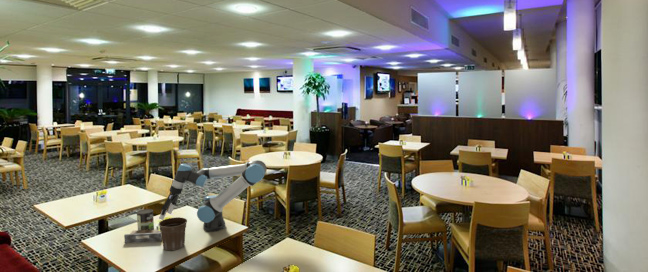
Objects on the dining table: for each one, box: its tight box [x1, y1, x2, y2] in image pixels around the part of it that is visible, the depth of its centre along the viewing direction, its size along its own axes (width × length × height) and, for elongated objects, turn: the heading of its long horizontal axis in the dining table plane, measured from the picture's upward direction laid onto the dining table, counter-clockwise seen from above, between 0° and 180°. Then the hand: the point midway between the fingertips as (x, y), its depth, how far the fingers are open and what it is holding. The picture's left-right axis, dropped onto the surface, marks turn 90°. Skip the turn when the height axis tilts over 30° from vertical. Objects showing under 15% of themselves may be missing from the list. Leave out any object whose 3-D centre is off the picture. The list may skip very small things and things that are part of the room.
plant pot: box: [158, 216, 188, 252], centre depth 217 cm, size 16×16×16 cm
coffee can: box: [136, 208, 155, 230], centre depth 241 cm, size 10×10×14 cm
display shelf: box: [123, 229, 163, 244], centre depth 230 cm, size 22×14×6 cm, turn 97°
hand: (165, 216), depth 230 cm, fingers open, 13 cm apart
